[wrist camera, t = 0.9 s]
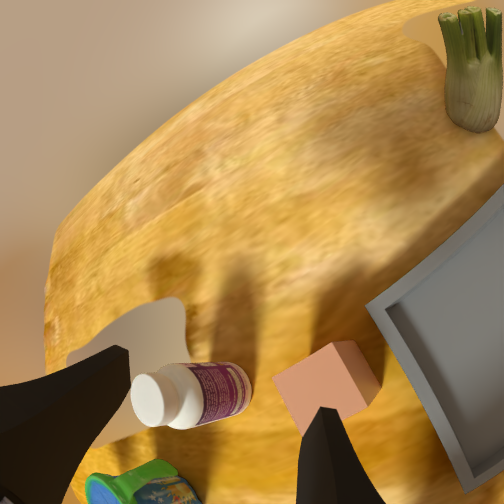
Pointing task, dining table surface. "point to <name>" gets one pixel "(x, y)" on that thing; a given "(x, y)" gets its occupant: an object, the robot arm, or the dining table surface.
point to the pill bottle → (190, 394)
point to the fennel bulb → (473, 67)
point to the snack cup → (141, 486)
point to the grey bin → (456, 340)
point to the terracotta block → (328, 383)
